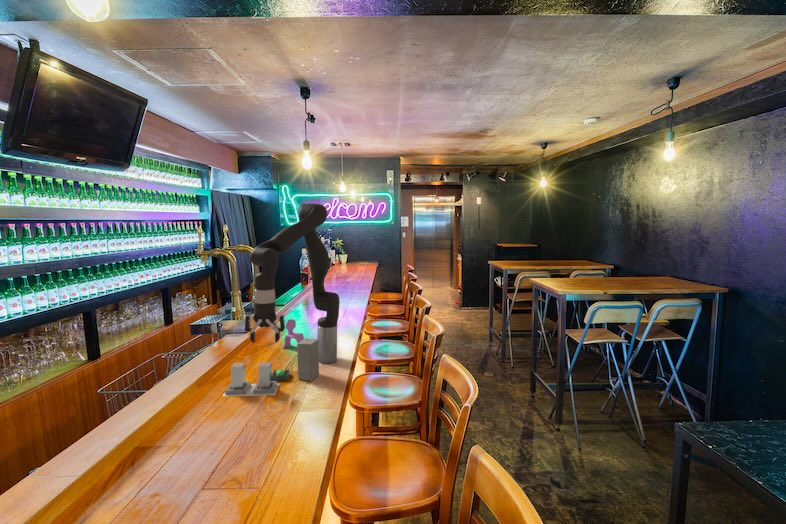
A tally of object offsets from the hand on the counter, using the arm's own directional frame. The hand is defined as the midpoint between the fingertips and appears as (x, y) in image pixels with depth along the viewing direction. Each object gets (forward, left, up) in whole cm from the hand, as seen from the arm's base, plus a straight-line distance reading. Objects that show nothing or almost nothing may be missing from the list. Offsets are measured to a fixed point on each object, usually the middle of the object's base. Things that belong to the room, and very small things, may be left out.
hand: (265, 341), depth 140 cm
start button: (-4, -10, -19) cm, 22 cm away
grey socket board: (+5, 0, -20) cm, 21 cm away
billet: (0, 0, -19) cm, 19 cm away
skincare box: (-15, -13, -20) cm, 28 cm away
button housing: (-4, -10, -20) cm, 23 cm away
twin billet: (+10, 0, -19) cm, 21 cm away
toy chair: (-4, -48, -20) cm, 52 cm away
